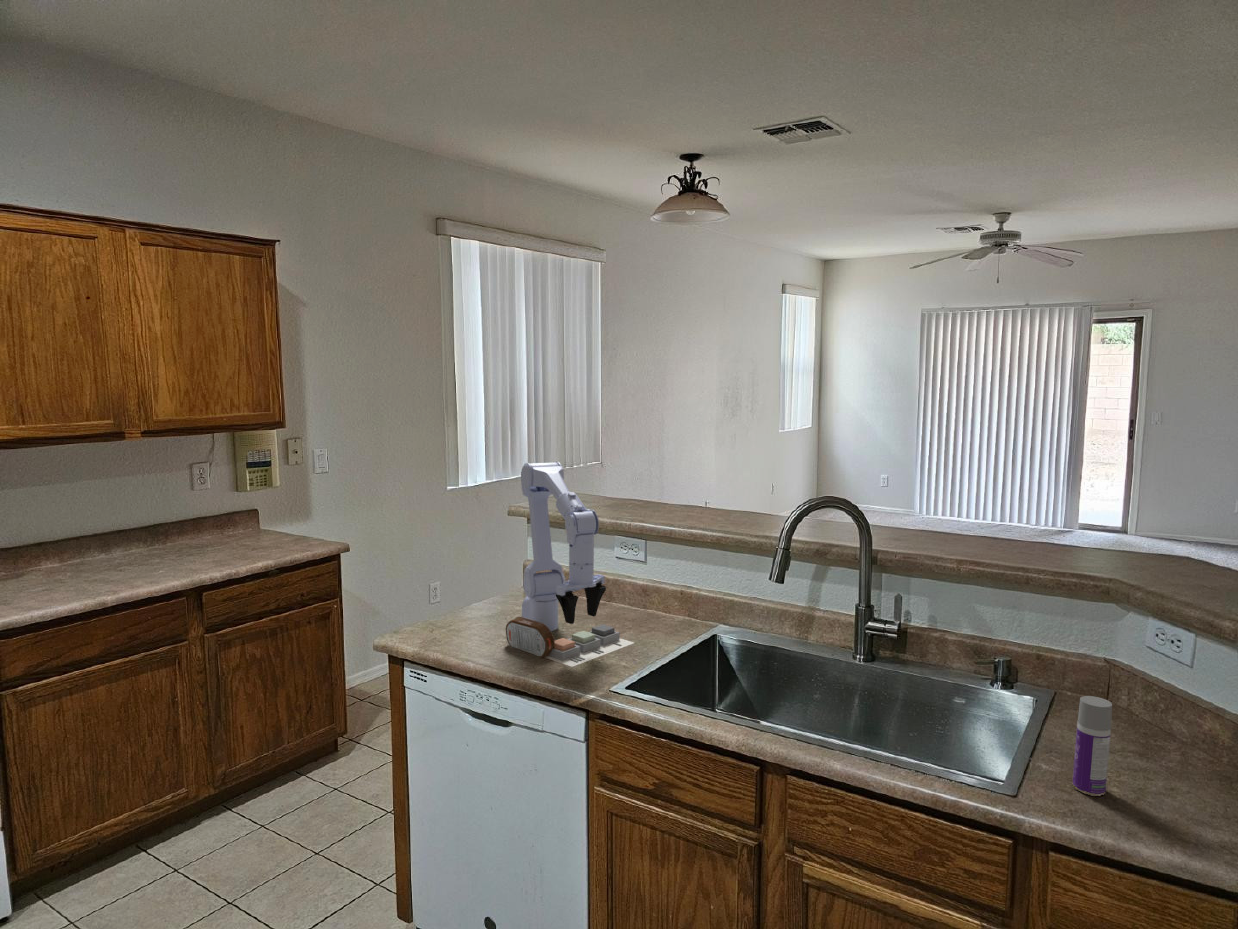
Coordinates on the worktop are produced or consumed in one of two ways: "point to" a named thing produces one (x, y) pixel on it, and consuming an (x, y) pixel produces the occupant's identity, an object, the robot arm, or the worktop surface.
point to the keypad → (589, 649)
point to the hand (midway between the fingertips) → (580, 619)
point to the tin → (530, 636)
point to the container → (1092, 744)
